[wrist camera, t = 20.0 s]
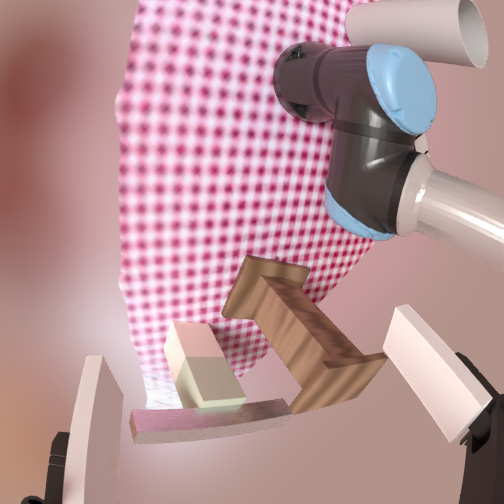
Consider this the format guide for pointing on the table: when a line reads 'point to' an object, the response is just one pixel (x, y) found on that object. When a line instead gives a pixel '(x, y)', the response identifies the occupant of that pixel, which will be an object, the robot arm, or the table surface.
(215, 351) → the tower lower
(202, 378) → the tower upper
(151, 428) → the steel bar
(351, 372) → the walnut stand
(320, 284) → the table surface
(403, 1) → the cylinder vase
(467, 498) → the robot arm
